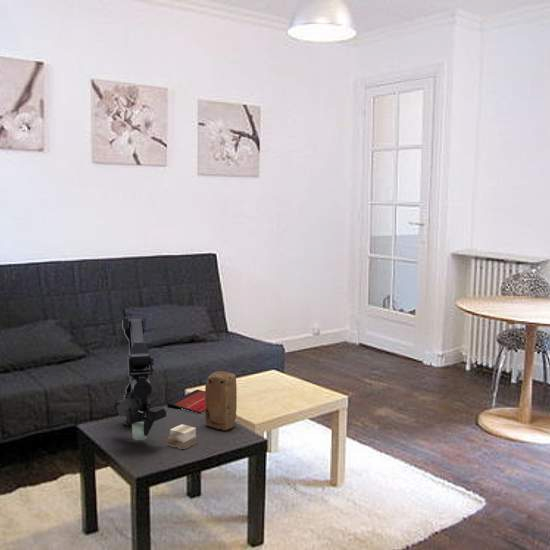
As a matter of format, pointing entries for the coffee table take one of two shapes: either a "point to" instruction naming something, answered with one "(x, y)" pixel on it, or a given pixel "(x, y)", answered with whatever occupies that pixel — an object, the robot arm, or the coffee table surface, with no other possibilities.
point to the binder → (191, 401)
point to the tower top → (183, 433)
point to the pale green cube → (138, 431)
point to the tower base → (180, 443)
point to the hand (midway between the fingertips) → (140, 434)
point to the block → (221, 400)
